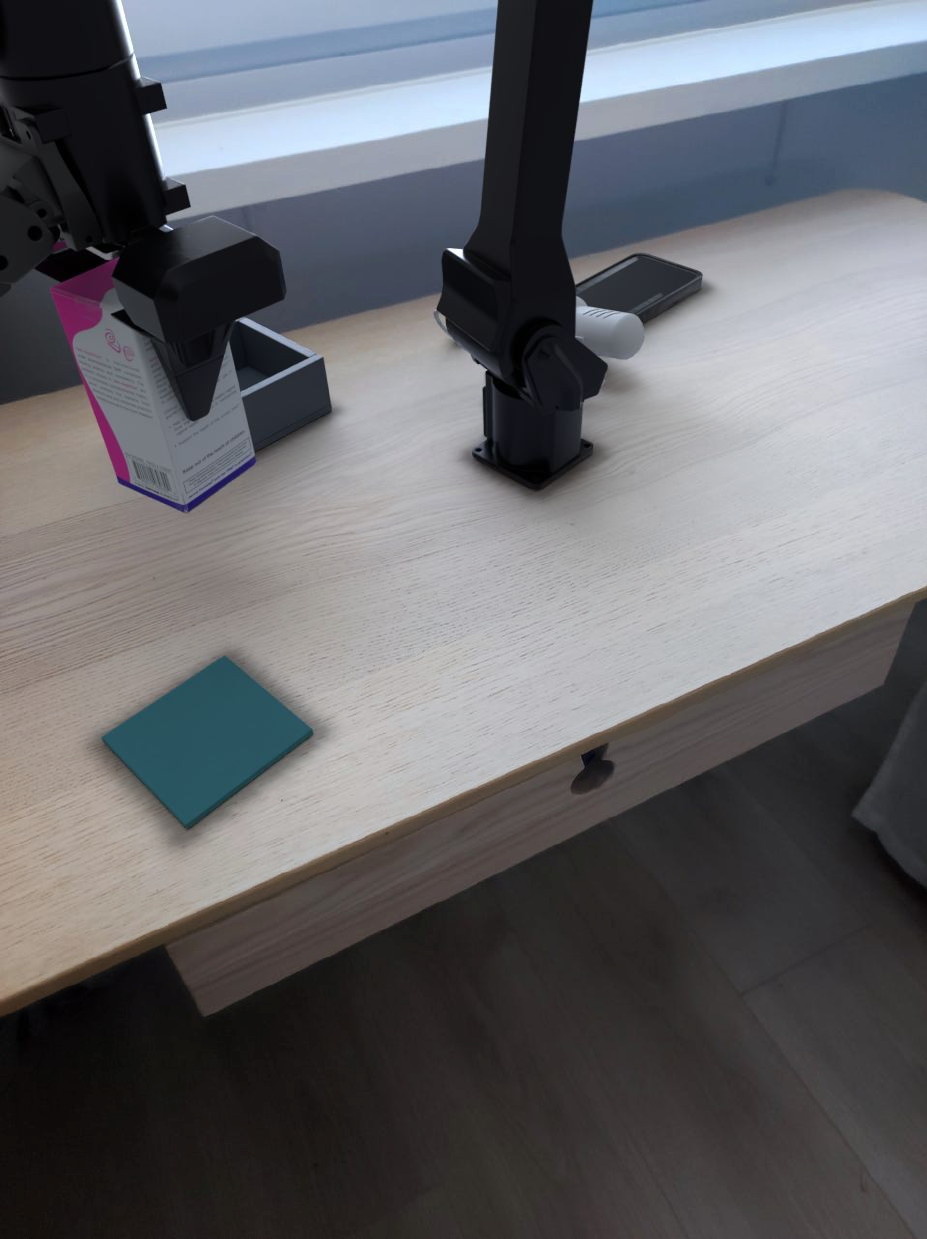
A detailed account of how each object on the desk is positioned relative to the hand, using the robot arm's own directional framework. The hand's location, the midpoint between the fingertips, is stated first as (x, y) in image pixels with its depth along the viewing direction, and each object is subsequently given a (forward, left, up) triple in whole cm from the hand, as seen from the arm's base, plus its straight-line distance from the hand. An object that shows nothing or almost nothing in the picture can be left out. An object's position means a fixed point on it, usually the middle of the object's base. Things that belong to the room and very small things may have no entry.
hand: (164, 395), depth 48 cm
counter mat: (-10, +8, -13) cm, 18 cm away
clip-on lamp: (+2, -32, -13) cm, 35 cm away
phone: (+3, -46, -13) cm, 48 cm away
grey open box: (+15, -12, -13) cm, 23 cm away
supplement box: (0, 0, -5) cm, 5 cm away
